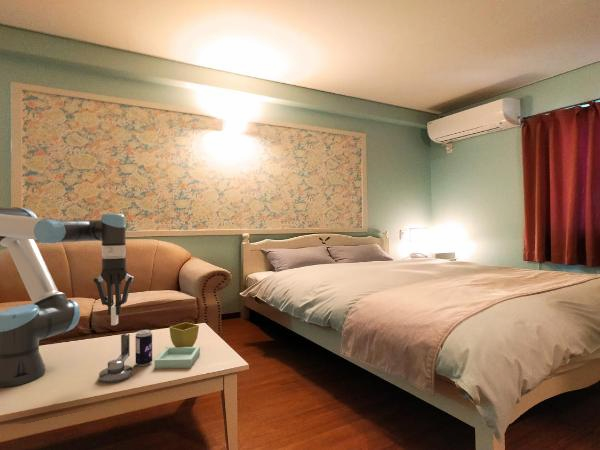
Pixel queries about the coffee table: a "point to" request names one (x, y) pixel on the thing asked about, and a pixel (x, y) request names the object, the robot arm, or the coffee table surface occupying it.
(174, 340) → the flower pot
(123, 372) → the crank base
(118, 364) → the crank
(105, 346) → the coffee table surface
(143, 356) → the beverage can
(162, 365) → the tray
